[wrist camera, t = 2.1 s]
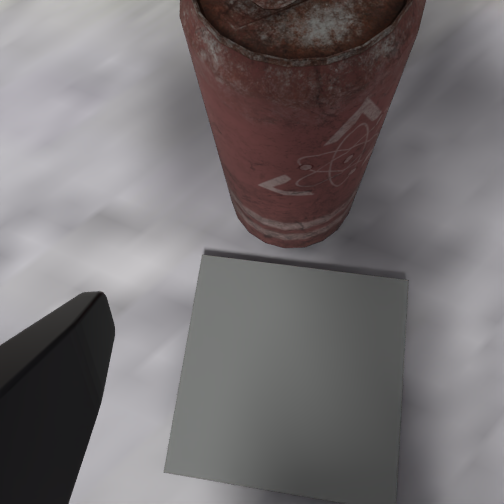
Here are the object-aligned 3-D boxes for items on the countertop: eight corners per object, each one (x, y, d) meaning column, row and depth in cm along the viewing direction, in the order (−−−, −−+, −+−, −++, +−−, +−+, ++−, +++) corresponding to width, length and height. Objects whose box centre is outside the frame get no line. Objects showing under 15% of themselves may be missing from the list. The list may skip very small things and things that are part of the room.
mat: (393, 509, 20) (395, 512, 20) (165, 471, 21) (163, 472, 21) (406, 281, 23) (408, 280, 22) (203, 256, 24) (202, 254, 23)
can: (365, 153, 25) (465, -127, 11) (333, 265, 23) (403, 99, 10) (255, 125, 25) (223, -167, 12) (217, 232, 24) (131, 36, 10)
